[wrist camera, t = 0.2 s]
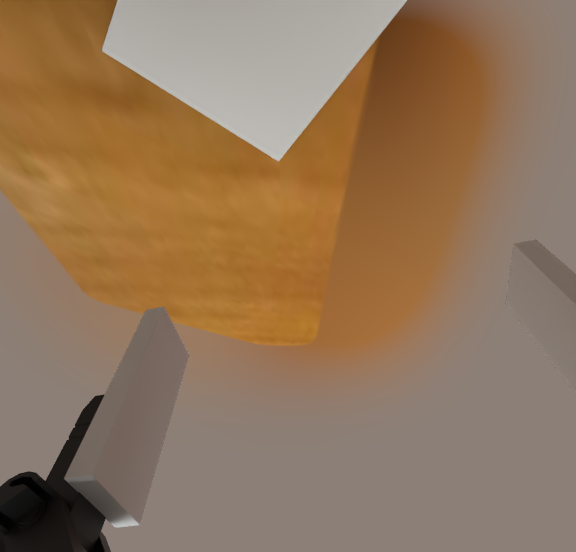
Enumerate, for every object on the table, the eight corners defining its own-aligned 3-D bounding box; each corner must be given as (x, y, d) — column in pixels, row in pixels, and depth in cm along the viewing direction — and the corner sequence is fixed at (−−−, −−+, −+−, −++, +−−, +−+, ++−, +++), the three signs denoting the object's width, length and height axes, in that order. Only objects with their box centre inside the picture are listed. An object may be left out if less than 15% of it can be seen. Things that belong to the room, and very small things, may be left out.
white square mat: (198, -245, 21) (196, -248, 20) (411, -13, 29) (414, -9, 29) (105, 46, 32) (101, 50, 31) (278, 156, 40) (278, 161, 40)
